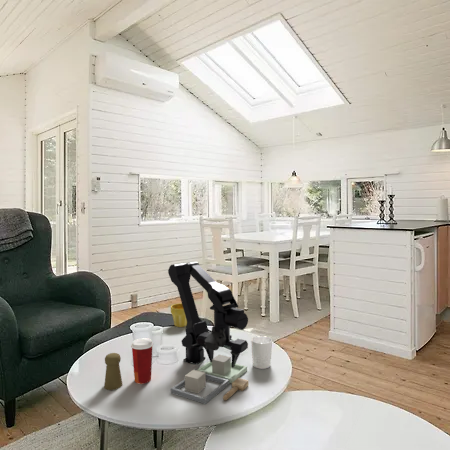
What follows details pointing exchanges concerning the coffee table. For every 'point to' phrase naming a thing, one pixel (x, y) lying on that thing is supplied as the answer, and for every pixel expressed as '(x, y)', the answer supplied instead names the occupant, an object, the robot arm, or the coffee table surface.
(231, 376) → the bin
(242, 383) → the wooden mallet
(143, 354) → the paper cup
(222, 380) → the bin
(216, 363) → the beige cube
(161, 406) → the coffee table surface
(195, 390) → the beige cube
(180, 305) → the plant pot
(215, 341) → the robot arm
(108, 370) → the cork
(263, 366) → the white cup
